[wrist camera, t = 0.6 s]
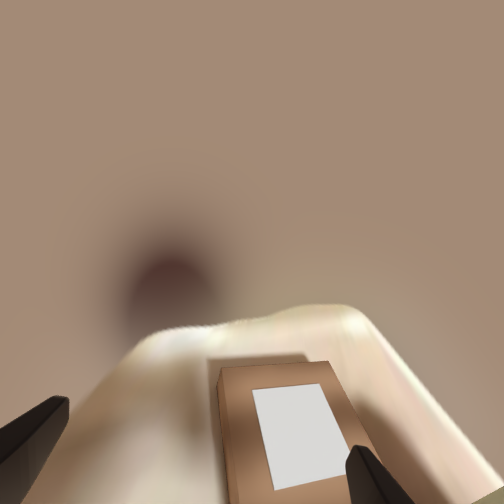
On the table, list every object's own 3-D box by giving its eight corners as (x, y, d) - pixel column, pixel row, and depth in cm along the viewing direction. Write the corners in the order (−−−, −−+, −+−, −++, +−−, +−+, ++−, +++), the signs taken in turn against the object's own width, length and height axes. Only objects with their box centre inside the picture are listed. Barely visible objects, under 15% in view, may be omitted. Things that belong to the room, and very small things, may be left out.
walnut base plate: (385, 521, 20) (406, 506, 18) (236, 567, 16) (247, 555, 15) (318, 377, 30) (328, 359, 28) (216, 386, 26) (221, 367, 24)
